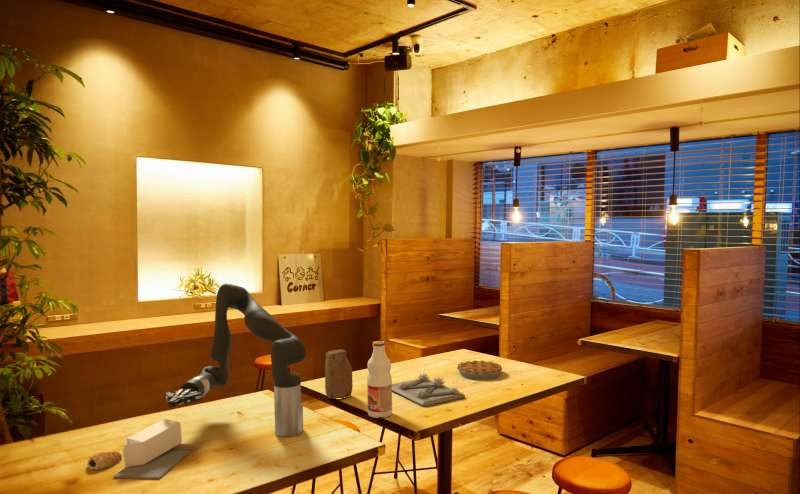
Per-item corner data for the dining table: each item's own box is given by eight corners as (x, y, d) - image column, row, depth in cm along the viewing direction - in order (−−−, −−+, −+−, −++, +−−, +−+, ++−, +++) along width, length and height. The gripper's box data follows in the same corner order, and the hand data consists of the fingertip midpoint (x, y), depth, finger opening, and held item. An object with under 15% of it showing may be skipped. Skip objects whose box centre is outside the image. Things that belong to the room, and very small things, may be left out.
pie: (506, 380, 255) (506, 369, 254) (459, 381, 255) (458, 370, 255) (498, 368, 276) (498, 358, 276) (455, 368, 277) (454, 358, 277)
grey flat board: (196, 449, 180) (196, 444, 180) (162, 479, 159) (162, 473, 159) (149, 448, 181) (149, 443, 181) (110, 477, 160) (110, 471, 160)
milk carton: (180, 421, 180) (131, 448, 163) (182, 442, 181) (133, 470, 164) (164, 418, 183) (114, 443, 166) (166, 438, 184) (116, 466, 166)
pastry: (114, 456, 176) (113, 444, 176) (127, 460, 172) (126, 449, 172) (85, 468, 168) (84, 455, 167) (98, 473, 164) (97, 460, 164)
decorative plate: (385, 390, 243) (385, 374, 243) (425, 382, 255) (425, 367, 254) (423, 408, 218) (423, 391, 217) (466, 399, 229) (466, 382, 229)
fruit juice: (391, 418, 206) (390, 344, 205) (366, 418, 206) (365, 344, 205) (392, 410, 215) (391, 339, 214) (368, 410, 215) (367, 339, 214)
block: (330, 401, 227) (329, 353, 226) (324, 396, 233) (323, 350, 233) (354, 397, 232) (353, 350, 231) (348, 393, 238) (347, 347, 237)
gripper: (177, 378, 197) (150, 393, 180) (212, 378, 196) (189, 393, 178) (177, 398, 197) (151, 415, 180) (213, 399, 196) (190, 416, 179)
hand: (170, 404), depth 179 cm, fingers closed
